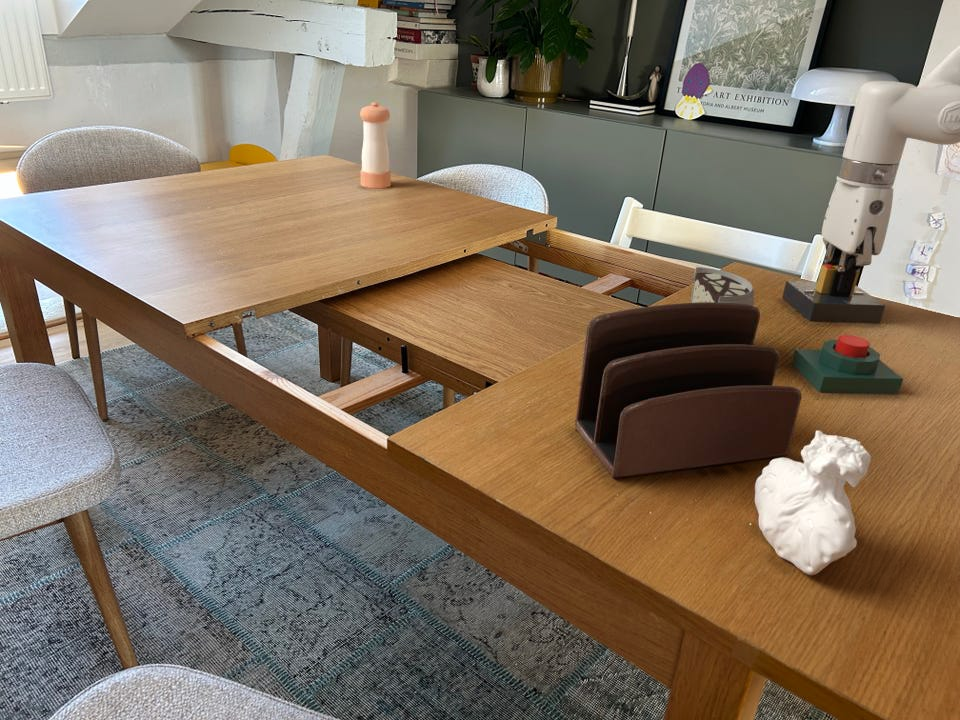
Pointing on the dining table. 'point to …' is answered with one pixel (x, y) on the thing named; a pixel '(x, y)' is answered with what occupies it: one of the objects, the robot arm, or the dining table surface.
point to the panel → (832, 304)
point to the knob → (829, 279)
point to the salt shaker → (375, 147)
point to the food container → (721, 287)
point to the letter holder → (681, 389)
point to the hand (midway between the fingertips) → (834, 291)
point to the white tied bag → (811, 502)
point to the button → (852, 346)
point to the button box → (846, 371)
